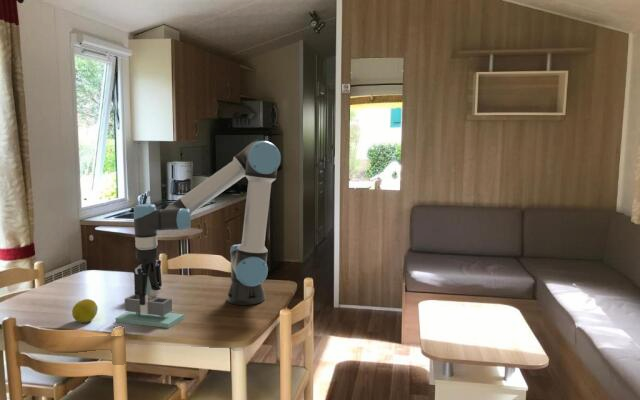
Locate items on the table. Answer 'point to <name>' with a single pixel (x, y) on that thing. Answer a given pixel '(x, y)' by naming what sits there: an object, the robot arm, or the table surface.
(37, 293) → the table surface
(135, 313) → the pegboard
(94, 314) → the lemon
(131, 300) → the grey rectangular block
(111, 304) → the table surface
